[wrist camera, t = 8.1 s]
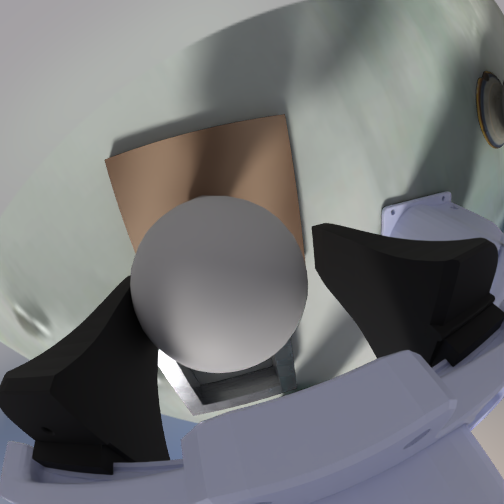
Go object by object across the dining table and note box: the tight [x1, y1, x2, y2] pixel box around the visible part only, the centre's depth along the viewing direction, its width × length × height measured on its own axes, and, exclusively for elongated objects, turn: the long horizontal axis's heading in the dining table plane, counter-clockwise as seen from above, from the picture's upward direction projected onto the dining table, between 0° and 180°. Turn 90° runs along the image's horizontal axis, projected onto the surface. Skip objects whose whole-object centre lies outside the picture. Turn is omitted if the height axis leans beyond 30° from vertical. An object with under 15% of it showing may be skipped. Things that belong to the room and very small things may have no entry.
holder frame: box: [158, 337, 297, 416], centre depth 22 cm, size 10×10×2 cm
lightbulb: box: [130, 195, 308, 373], centre depth 12 cm, size 6×6×11 cm
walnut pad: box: [105, 114, 306, 266], centre depth 17 cm, size 11×11×1 cm
